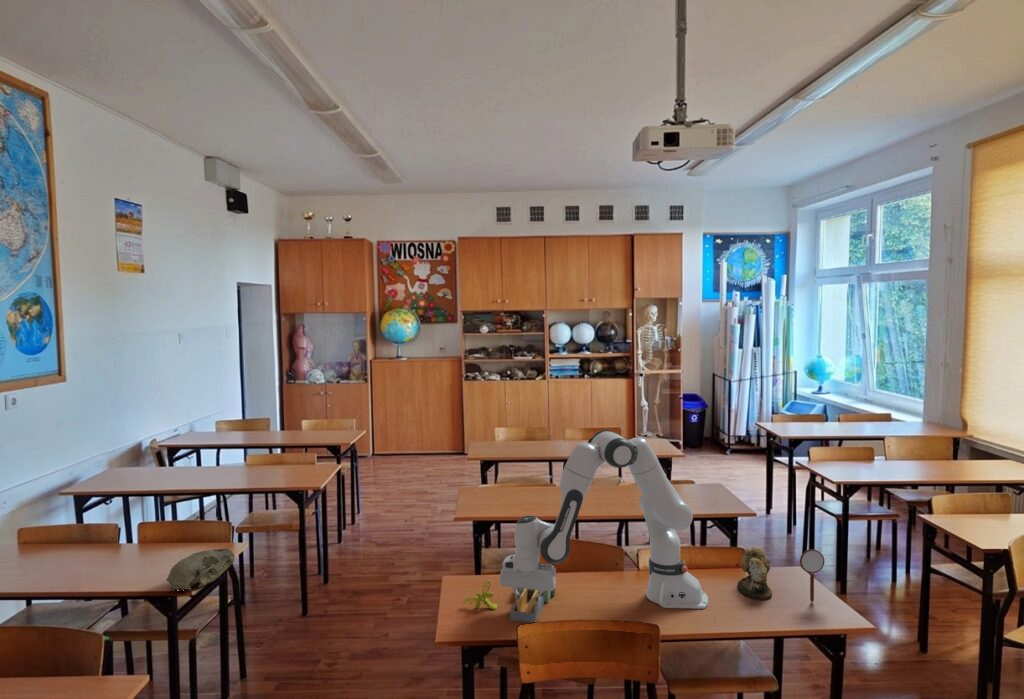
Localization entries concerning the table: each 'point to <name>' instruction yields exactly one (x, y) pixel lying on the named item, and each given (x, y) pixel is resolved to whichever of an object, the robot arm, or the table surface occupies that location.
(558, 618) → the table surface
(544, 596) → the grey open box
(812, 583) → the magnifying glass
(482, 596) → the decorative insect
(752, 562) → the stone bust
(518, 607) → the chute
